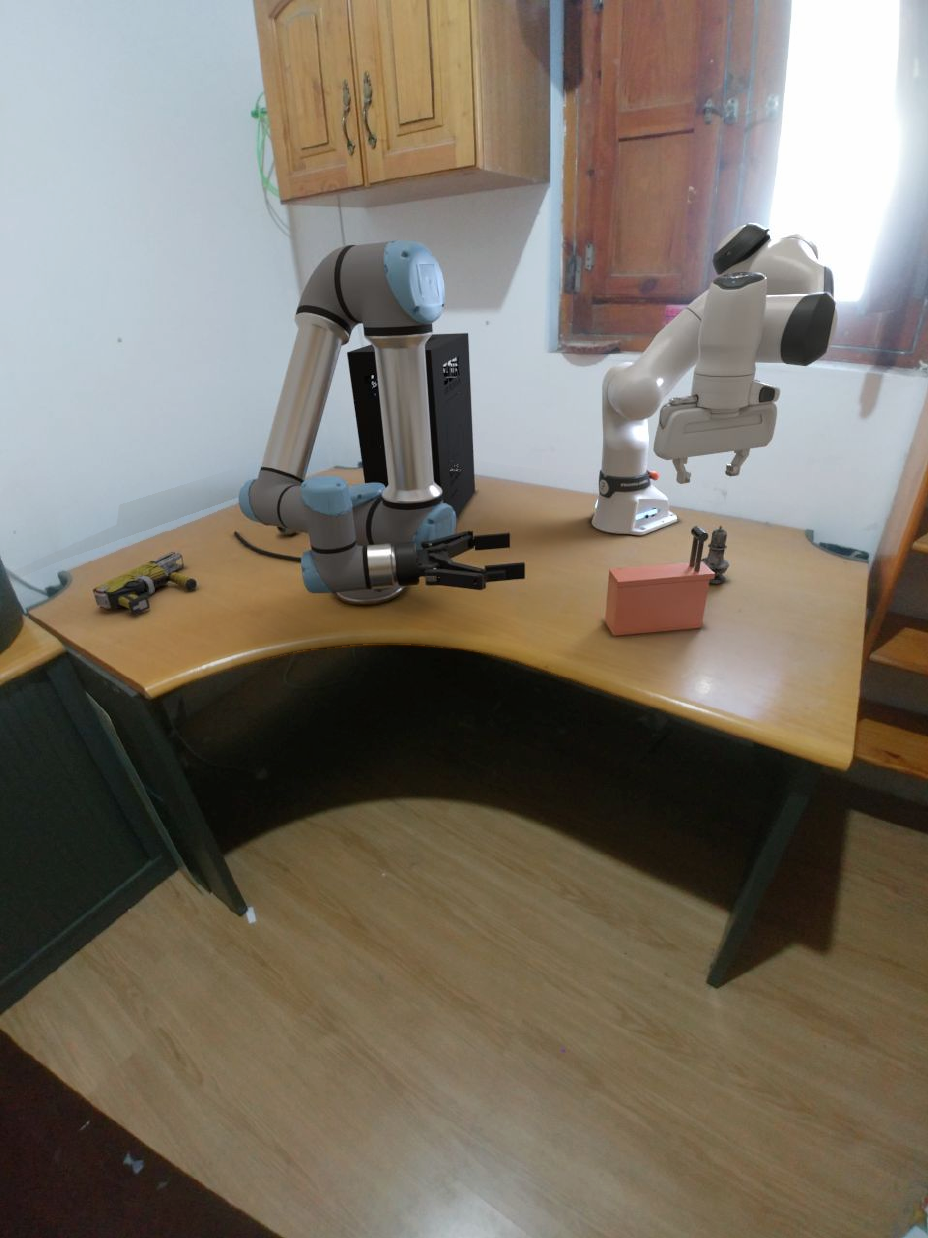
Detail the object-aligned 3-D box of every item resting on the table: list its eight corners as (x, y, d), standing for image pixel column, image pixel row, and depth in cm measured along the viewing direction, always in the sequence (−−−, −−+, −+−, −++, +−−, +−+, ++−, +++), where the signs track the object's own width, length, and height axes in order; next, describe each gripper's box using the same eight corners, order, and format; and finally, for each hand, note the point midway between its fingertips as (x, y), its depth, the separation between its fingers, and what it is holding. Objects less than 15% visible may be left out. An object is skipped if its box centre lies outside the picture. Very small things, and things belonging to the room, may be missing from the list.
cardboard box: (444, 537, 157) (431, 349, 135) (371, 534, 162) (346, 352, 139) (475, 491, 189) (468, 332, 166) (413, 489, 193) (398, 335, 171)
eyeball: (273, 537, 164) (268, 516, 161) (287, 528, 169) (282, 508, 166) (291, 539, 161) (286, 518, 158) (305, 530, 166) (301, 510, 163)
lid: (701, 566, 112) (708, 522, 108) (714, 579, 108) (722, 533, 103) (608, 574, 112) (612, 530, 107) (617, 587, 107) (621, 541, 103)
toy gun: (220, 560, 144) (169, 549, 148) (142, 602, 124) (86, 589, 128) (223, 577, 146) (173, 566, 150) (147, 622, 126) (91, 608, 130)
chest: (689, 613, 117) (697, 567, 112) (701, 627, 113) (709, 579, 108) (604, 621, 117) (608, 574, 112) (613, 635, 112) (617, 587, 107)
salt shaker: (728, 584, 127) (739, 531, 121) (699, 583, 128) (707, 530, 122) (724, 572, 132) (733, 520, 126) (695, 571, 133) (703, 519, 127)
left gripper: (396, 556, 116) (504, 547, 118) (398, 619, 95) (531, 606, 96) (392, 519, 113) (504, 510, 114) (393, 575, 91) (531, 563, 93)
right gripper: (673, 402, 89) (662, 492, 96) (789, 388, 94) (771, 476, 101) (650, 395, 95) (642, 481, 102) (761, 383, 99) (746, 466, 106)
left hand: (516, 554), depth 105 cm, fingers open, 13 cm apart
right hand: (707, 478), depth 101 cm, fingers open, 8 cm apart
